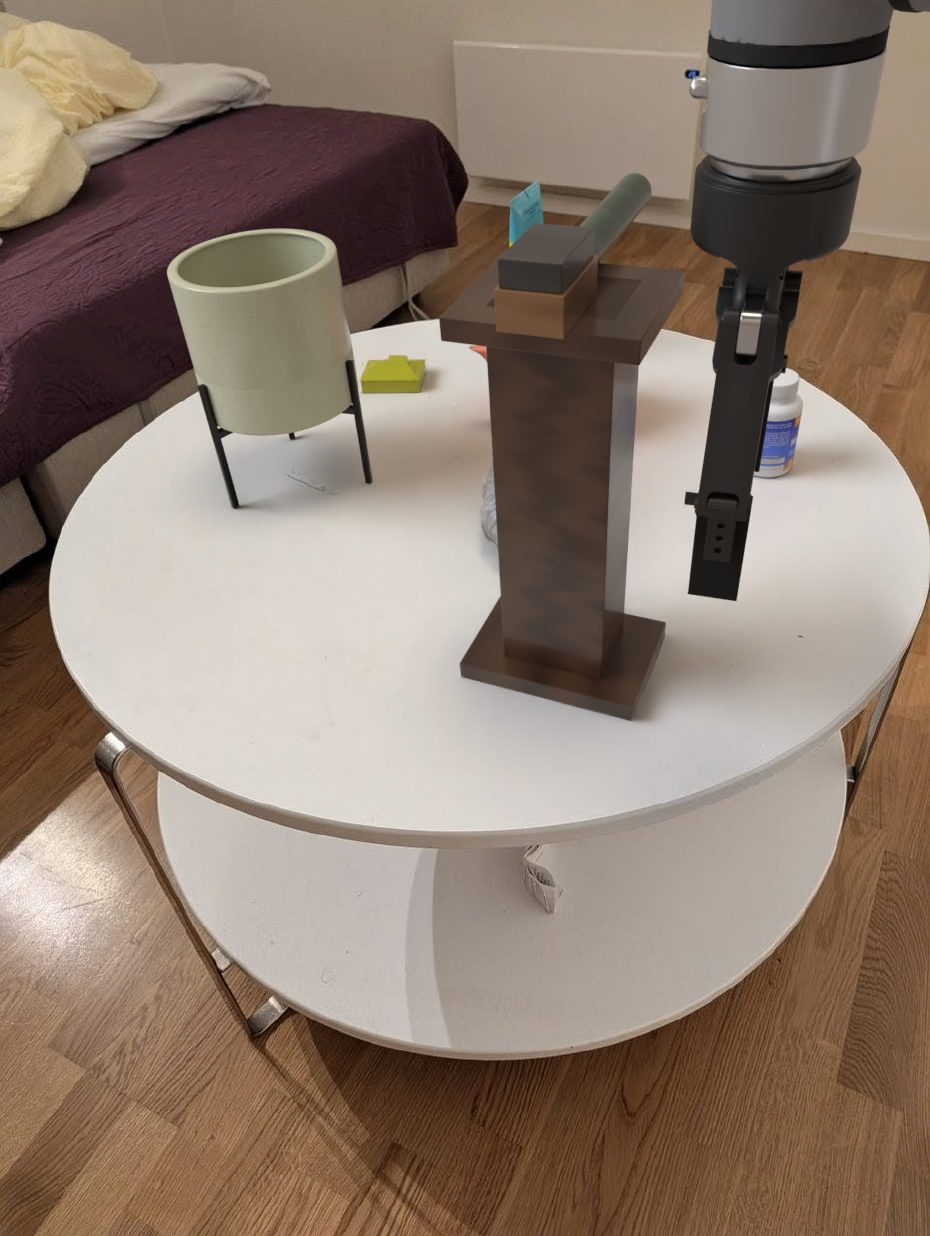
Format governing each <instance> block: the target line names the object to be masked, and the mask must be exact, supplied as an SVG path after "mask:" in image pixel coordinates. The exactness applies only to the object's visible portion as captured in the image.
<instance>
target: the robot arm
mask: <svg viewBox="0 0 930 1236" xmlns="http://www.w3.org/2000/svg"><path fill="white" fill-rule="evenodd" d="M894 11H898V12H901V13H913V14H914V13H915V14H919V13H922V12H923V13H924V12H925V13H926V12H927V13H928V12H929V13H930V0H711V10H710V25H709V30H708V31H707V33H708V36H707V37H708V38H707V46H706V47H707V48H706V54H707V55H706V61H705V72H706V74H702V75H696V76H693V78H692V80H691V82H690V84H689V90H688V91H689V92H688V93H689V95H690V96H691V98H692V99H695V100H706V104H705V106H704V107H703V108H702V110H701V116H700V127H699V128H700V129H699V140H698V146H699V148H700V149H701V150H702V151H703V153H704V154H705V156H704V158H702V160H701V161H700V163H699V164H698V165H696V167H695V171H694V181H693V182H694V184H693V193H692V206H691V215H690V216H691V218H690V236H691V239H692V241H693V243H694V244H695V245H696V246H697V248H698V249H700V250H701V251H703V252H704V253H706V254H708V255H710V256H712V257H715V258H722V259H724V260H727V261H728V262H730V263H731V264H733V265H734V266H735V267H732V266H725V267H724V271H723V277H722V285H718V291H717V295H716V296H717V297H716V302H715V321H716V322H717V328H716V334H715V339H714V340H715V341H714V346H713V353H712V358H711V362H712V370H713V372H714V374H715V377H714V386H713V393H712V400H711V406H710V411H709V413H710V414H709V419H708V425H707V433H706V440H705V447H704V454H703V461H702V467H701V474H700V481H699V488H698V491H697V492H695V491H685V494H684V502H683V503H684V505H685V506H686V505H687V506H693V508H694V514H695V516H696V518H695V525H694V535H693V544H692V552H691V553H692V554H691V560H690V561H691V562H690V570H689V580H688V589H687V595H690V596H699V597H703V598H704V597H705V598H712V599H718V600H723V601H724V600H726V601H730V602H731V601H732V602H737V601H738V595H739V589H740V582H741V575H742V571H743V563H744V557H745V551H746V544H747V537H748V532H749V527H750V521H751V514H752V509H753V508H752V507H753V500H754V495H752V494H753V493H752V489H753V483H754V477H755V476H754V472H759V470H760V464H761V458H762V451H763V445H764V439H765V433H766V427H767V420H768V414H769V408H770V402H771V396H772V389H773V383H774V379H776V378H777V377H778V376H779V375H780V373H784V374H785V372H786V368H787V366H788V365H787V364H788V360H789V354H785V352H786V346H787V339H788V334H789V331H790V330H791V328H792V327H793V326H794V325H795V322H796V317H797V311H798V306H799V300H800V294H801V285H802V279H803V275H804V274H803V273H804V270H797V269H790V266H793V265H794V264H797V263H801V262H804V261H806V262H807V263H809V262H813V261H816V260H820V259H823V258H825V257H827V256H829V255H832V254H833V253H834V252H836V251H838V250H839V249H840V248H841V247H842V246H843V245H844V244H845V242H846V241H848V240H847V239H848V238H849V235H850V233H851V232H850V231H851V226H852V221H853V216H854V211H855V207H856V201H857V195H858V191H859V186H860V180H861V175H862V167H861V165H860V164H859V162H858V160H857V158H855V157H856V156H858V155H860V154H861V153H862V152H863V151H864V150H866V148H867V146H868V145H869V144H870V138H871V132H872V128H873V123H874V117H875V111H876V107H877V101H878V98H879V97H878V96H879V91H880V87H881V86H880V85H881V80H882V76H883V70H884V65H885V59H886V54H887V49H888V47H887V44H888V43H887V42H888V38H889V33H890V28H891V21H892V18H893V14H894ZM751 493H752V494H751Z"/></svg>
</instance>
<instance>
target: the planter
mask: <svg viewBox="0 0 930 1236" xmlns="http://www.w3.org/2000/svg"><path fill="white" fill-rule="evenodd" d="M166 275H167V279H168V282H169V283H168V284H169V287H170V290H171V293H172V297H173V300H174V301H173V302H174V304H175V307H176V311H177V314H178V319H179V322H180V325H181V328H182V329H181V330H182V332H183V336H184V339H185V341H186V342H185V343H186V347H187V350H188V353H189V357H190V361H191V363H192V368H193V370H194V374H195V377H196V381H197V386H196V387H197V391H198V393H199V394H198V395H199V397H200V401H201V404H202V408H203V411H204V415H205V419H206V422H207V425H208V429H209V432H210V435H211V439H212V442H213V446H214V450H215V454H216V456H217V460H218V464H219V467H220V470H221V473H222V478H223V481H224V484H225V488H226V492H227V495H228V498H229V502H230V505H231V507H232V509H238V508H240V501H239V498H238V495H237V491H236V487H235V485H234V481H233V480H234V479H233V476H232V474H231V473H232V472H231V470H230V466H229V463H228V459H227V456H226V455H227V454H226V452H225V449H224V444H223V442H222V441H223V440H222V439H223V438H225V437H227V436H230V435H231V434H233V433H235V434H240V435H243V436H244V435H245V436H256V437H258V436H259V437H265V436H268V437H269V436H279V435H280V436H281V435H287V434H288V439H289V440H291V441H292V440H295V439H296V435H295V433H296V432H297V433H299V432H302V431H306V430H308V429H312V428H315V427H317V426H320V425H322V424H325V423H327V422H329V421H331V420H332V419H334V418H337V417H338V416H340V415H341V414H342V415H343V414H344V415H345V414H346V415H353V417H354V422H355V429H356V434H357V441H358V447H359V454H360V459H361V465H362V470H363V471H362V472H363V477H364V482H365V484H368V485H371V484H372V483H373V481H374V480H373V475H372V468H371V461H370V456H369V455H370V454H369V448H368V443H367V442H368V441H367V436H366V431H365V424H364V417H363V411H362V405H361V399H360V392H359V380H358V374H357V370H356V369H357V368H356V362H355V355H354V349H353V342H352V337H351V331H350V325H349V324H350V323H349V318H348V312H347V305H346V300H345V293H344V287H343V281H342V275H341V267H340V261H339V255H338V249H337V246H336V244H335V242H334V241H333V240H332V239H331V238H329V237H327V236H326V235H323V234H321V233H318V232H314V231H311V230H306V229H298V228H297V229H296V228H264V229H254V230H253V229H252V230H246V231H239V232H234V233H230V234H226V235H222V236H218V237H215V238H211V239H208V240H206V241H203V242H200V243H198V244H196V245H193V246H191V247H189V248H188V249H186V250H184V251H183V252H181V253H180V254H178V255H176V256H175V257H174V258H173V260H171V262H170V263H169V264H168V266H167V269H166Z"/></svg>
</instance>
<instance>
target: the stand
mask: <svg viewBox="0 0 930 1236" xmlns="http://www.w3.org/2000/svg"><path fill="white" fill-rule="evenodd" d="M685 273H686V271H685V270H682V269H672V268H658V267H647V266H638V265H637V266H636V265H625V264H614V263H613V264H612V263H601V262H600V263H599V264H598V274H597V297H596V298H595V299H594V300H593V302H592V303H591V304H590V306H589V307H588V308H587V310H586V311H585V312H584V314H583V315H582V316H581V318H580V319H579V320H578V321H577V323H576V324H575V325H574V327H573V328H572V329H571V331H570V332H569V333H568V335H567V336H566V337H565V339H556V338H547V337H539V336H530V335H522V334H513V333H505V332H497V331H496V318H495V298H494V289H495V288H496V287H497V286H498V285H499V278H498V259H496V261H494V262H493V263H492V264H491V265H490V266H489V267H488V268H487V269H486V270H485V271H484V272H483V273H482V274H481V275H480V276H479V277H477V279H476V280H475V281H474V282H473V283H472V284H471V285H470V286H469V287H468V288H467V289H466V290H465V291H464V292H463V293H461V295H460V296H459V297H458V298H457V299H456V300H455V301H454V302H453V303H452V304H450V306H449V307H448V308H447V309H446V310H445V311H444V312H443V313H442V314H441V315H440V316H439V317H438V321H439V322H438V323H439V331H440V341H441V342H445V343H455V344H462V345H463V344H464V345H469V346H476V345H478V346H486V350H487V362H486V366H487V382H488V383H487V384H488V398H489V399H488V400H489V401H488V403H489V417H490V435H491V451H492V461H493V471H494V488H495V505H496V522H497V540H498V548H497V555H498V572H499V589H500V590H499V591H500V596H499V597H498V599H497V601H496V603H495V604H494V606H493V607H492V610H491V611H490V613H489V614H488V616H487V618H486V619H485V620H484V623H483V624H482V625H481V628H480V629H479V631H478V632H477V634H476V636H475V637H474V639H473V641H472V642H471V644H470V646H469V647H468V649H467V650H466V652H465V654H464V656H463V657H462V659H461V660H460V662H459V670H460V677H461V678H465V679H469V680H474V681H478V682H481V683H484V684H488V685H493V686H496V687H500V688H504V689H508V690H512V691H516V692H520V693H524V694H527V695H531V696H534V697H538V698H542V699H547V700H549V701H553V702H558V703H562V704H565V705H570V706H573V707H577V708H580V709H585V710H588V711H593V712H597V713H599V714H600V713H601V714H604V715H608V716H611V717H616V718H619V719H624V720H627V721H632V720H633V718H634V716H635V713H636V710H637V707H638V705H639V703H640V700H641V697H642V695H643V693H644V689H645V687H646V685H647V682H648V680H649V676H650V674H651V672H652V670H653V666H654V664H655V661H656V660H657V657H658V654H659V652H660V649H661V646H662V644H663V642H664V639H665V635H666V627H667V622H666V621H662V620H657V619H653V618H648V617H644V616H639V615H635V614H630V613H626V612H625V604H626V603H625V602H626V589H627V588H626V587H627V573H628V572H627V571H628V568H627V567H628V555H629V553H628V552H629V538H630V537H629V535H630V521H631V520H630V519H631V502H632V489H633V488H632V486H633V471H634V453H635V452H634V450H635V435H636V434H635V433H636V419H637V402H638V387H639V385H638V384H639V368H640V365H641V364H642V362H643V360H644V358H645V357H646V356H647V354H648V352H649V351H650V349H651V347H652V345H653V344H654V342H655V340H656V339H657V337H658V335H659V334H660V332H661V330H662V329H663V328H664V326H665V324H666V323H667V321H668V319H669V318H670V316H671V314H672V313H673V312H674V309H675V308H676V306H677V304H678V303H679V301H680V299H681V297H682V296H683V294H684V285H685Z"/></svg>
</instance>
